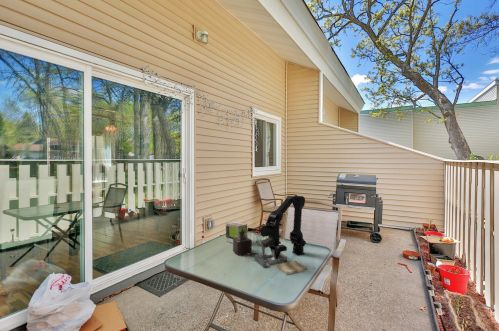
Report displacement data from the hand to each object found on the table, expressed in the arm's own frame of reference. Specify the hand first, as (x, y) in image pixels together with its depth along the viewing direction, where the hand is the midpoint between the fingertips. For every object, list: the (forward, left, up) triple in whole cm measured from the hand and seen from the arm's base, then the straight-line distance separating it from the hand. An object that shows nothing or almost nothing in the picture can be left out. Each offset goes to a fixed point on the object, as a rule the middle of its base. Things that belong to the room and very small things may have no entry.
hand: (275, 258), depth 160 cm
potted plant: (+12, -23, -3) cm, 26 cm away
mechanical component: (+1, -14, -3) cm, 14 cm away
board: (-4, +12, -2) cm, 13 cm away
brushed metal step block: (+2, 0, -2) cm, 3 cm away
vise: (+2, -2, -2) cm, 4 cm away
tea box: (+7, -48, -3) cm, 49 cm away
